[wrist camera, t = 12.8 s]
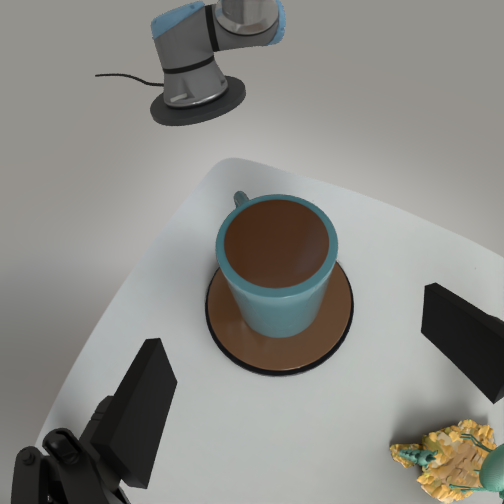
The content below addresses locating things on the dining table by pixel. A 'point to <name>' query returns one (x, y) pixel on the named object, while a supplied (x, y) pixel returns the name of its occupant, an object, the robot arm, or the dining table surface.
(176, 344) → the dining table surface
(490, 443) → the green creature figurine
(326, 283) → the teal mug
